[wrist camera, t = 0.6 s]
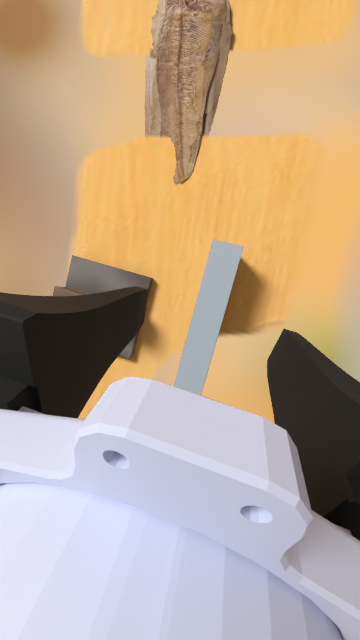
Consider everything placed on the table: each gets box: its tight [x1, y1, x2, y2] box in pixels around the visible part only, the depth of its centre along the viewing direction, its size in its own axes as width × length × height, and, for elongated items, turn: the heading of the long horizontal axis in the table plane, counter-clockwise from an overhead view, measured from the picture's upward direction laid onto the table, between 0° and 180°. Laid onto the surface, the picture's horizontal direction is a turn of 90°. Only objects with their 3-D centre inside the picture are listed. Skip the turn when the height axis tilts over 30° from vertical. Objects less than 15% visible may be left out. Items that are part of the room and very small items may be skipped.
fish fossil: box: [145, 0, 232, 184], centre depth 28 cm, size 26×10×1 cm, turn 177°
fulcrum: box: [53, 255, 153, 359], centre depth 30 cm, size 12×12×4 cm
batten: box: [174, 240, 243, 396], centre depth 29 cm, size 24×4×5 cm, turn 165°
